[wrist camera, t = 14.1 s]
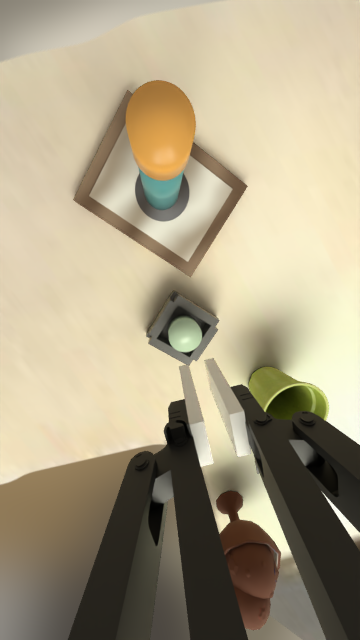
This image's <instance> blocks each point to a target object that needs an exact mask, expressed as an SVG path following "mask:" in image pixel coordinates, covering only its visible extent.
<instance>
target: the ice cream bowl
mask: <svg viewBox="0 0 360 640" xmlns="http://www.w3.org/2000/svg"><path fill="white" fill-rule="evenodd" d="M216 502H217V508H218V510H219V511H220V512H221V513H223V514H228V515H229V518H230V523H229V524H228V525H227V526H226V527H225V528H224V529H223V531H222V532H221V533H220V534H219V535H220V539H221V543H222V546H223V550H224V553H225V557H226V561H227V564H228V568H229V572H230V575H231V579H232V583H233V586H234V590H235V594H236V597H237V601H238V604H239V608H240V612H241V615H242V619H243V623H244V626H245V628H246V629H251V630H256V629H260V628H261V627H262V626H263V625H264V624H265V623H266V621H267V619H268V617H269V614H270V605H271V604H270V598H272V597H273V594H274V590H275V586H276V582H277V578H278V574H279V572H278V569H279V568H280V558H281V552H280V551H279V549H278V547H277V545H276V544H275V542H274V541H273V540H272V539H271V537H270V536H269V535H268V534H267V533H266V532H265V531H264V530H263V529H262V528H261V527H260V526H259V525H257V524H255V523H253V522H251V521H246V520H240V519H239V517H238V513H237V512H238V511H239V510H240V508H241V507H242V505H243V499H242V496H241V495H240V494H239V493H238V492H234V491H228V492H226V493H223V494H221V495H220V496H219V498H218V499H217V500H216Z"/></svg>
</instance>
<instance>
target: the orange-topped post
mask: <svg viewBox="0 0 360 640" xmlns="http://www.w3.org/2000/svg"><path fill="white" fill-rule="evenodd" d="M126 128H127V133H128V137H129V141H130V145H131V149H132V153H133V156H134V159H135V161H136V163H137V165H138V168H139V172H140V176H141V181H142V185H143V189H144V194H145V197H146V200H147V201H148V203H149V204H150V205H151V206H152V207H153V208H155V209H158V210H167V209H169V208H171V207H172V206H173V205H174V204H175V203H176V201H177V198H178V194H179V190H180V185H181V181H182V176H183V172H184V168H185V167H186V165H187V163H188V160H189V156H190V152H191V148H192V143H193V139H194V135H195V128H196V121H195V114H194V110H193V108H192V105H191V103H190V101H189V99H188V98H187V96H186V95H185V94H184V92H183V91H182V90H181V89H179V88H178V87H177V86H175V85H173V84H172V83H169V82H166V81H159V80H156V81H151V82H147V83H145V84H143V85H142V86H140V87H139V88H138V89H137V90H136V91H135V92H134V94H133V95H132V97H131V99H130V101H129V103H128V106H127V110H126Z"/></svg>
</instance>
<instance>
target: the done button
mask: <svg viewBox="0 0 360 640" xmlns="http://www.w3.org/2000/svg"><path fill="white" fill-rule="evenodd" d="M168 335H169V341H170V344H171V345H172V347H173V348H174V349H176V350H178V351H180V352H189V351H192V350H194V349H195V348H197V347H198V346H199V344H200V342H201V340H202V332H201V329H200V327H199V326H198V324H197V323H196V321H195V320H194V319H193V318H192V317H190V316H187V315H181V316H177V317H175V318H174V319H173V320H172V321H171V322H170V324H169V327H168Z"/></svg>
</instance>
